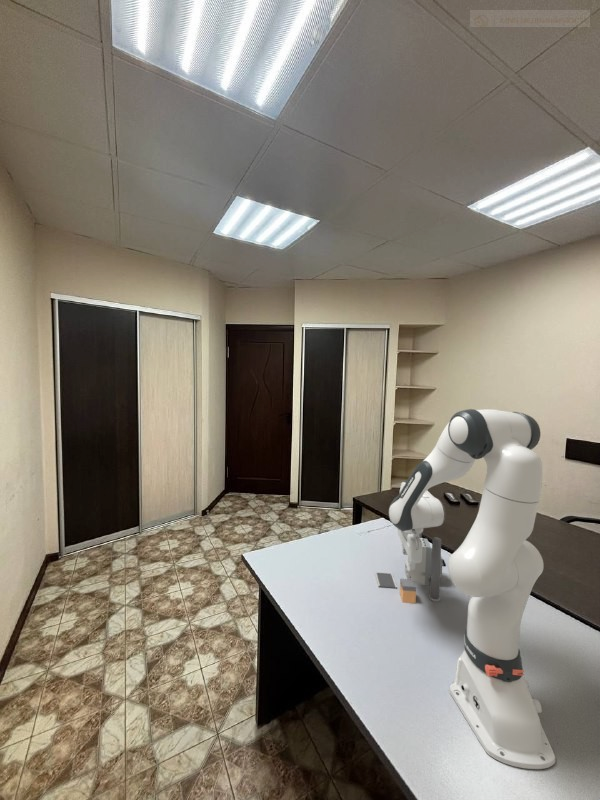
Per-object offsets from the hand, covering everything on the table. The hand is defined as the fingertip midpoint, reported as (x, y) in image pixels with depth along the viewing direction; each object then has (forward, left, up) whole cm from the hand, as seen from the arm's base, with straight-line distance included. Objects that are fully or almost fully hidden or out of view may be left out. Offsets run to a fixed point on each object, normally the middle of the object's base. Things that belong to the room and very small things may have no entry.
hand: (408, 560), depth 117 cm
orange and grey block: (0, 0, -14) cm, 14 cm away
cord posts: (+13, -10, -14) cm, 21 cm away
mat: (+10, +6, -14) cm, 18 cm away
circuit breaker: (+13, -10, -14) cm, 21 cm away
